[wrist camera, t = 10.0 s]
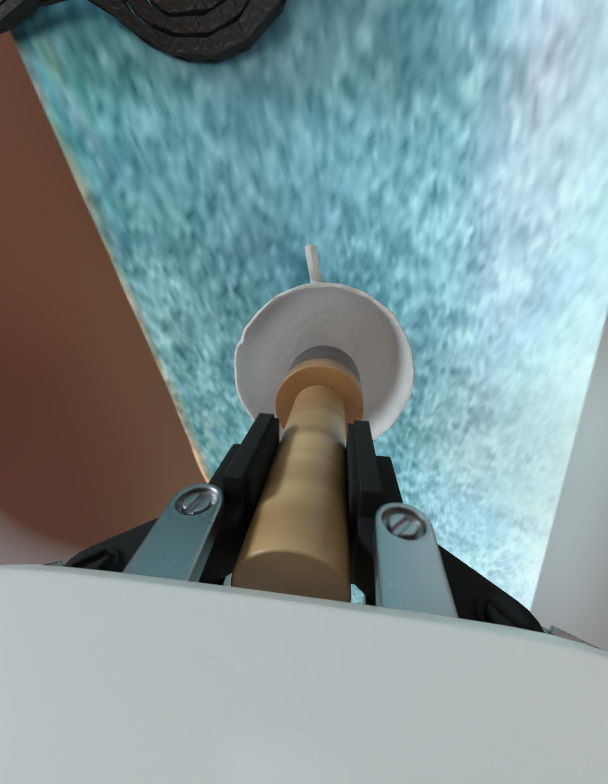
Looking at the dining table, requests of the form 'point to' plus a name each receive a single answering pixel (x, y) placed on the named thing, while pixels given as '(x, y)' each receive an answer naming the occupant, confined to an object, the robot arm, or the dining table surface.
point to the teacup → (326, 328)
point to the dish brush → (306, 484)
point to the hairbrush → (177, 23)
